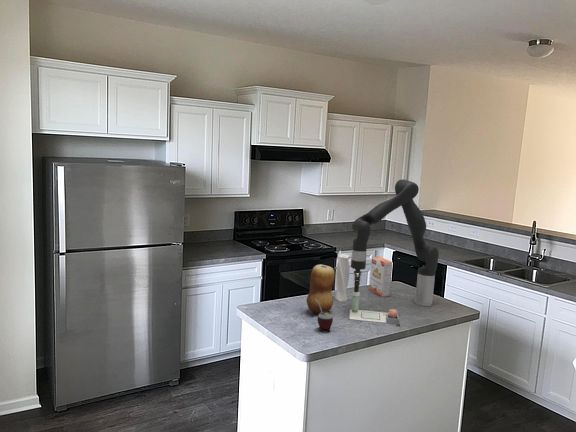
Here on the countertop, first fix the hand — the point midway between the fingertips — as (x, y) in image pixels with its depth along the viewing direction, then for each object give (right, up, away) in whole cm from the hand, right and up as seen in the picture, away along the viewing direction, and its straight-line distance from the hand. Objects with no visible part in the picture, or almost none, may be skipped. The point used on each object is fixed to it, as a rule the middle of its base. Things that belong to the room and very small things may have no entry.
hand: (356, 289), depth 244 cm
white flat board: (+8, -14, -4) cm, 16 cm away
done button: (+16, -11, -10) cm, 23 cm away
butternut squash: (-19, -12, -1) cm, 23 cm away
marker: (0, -12, +2) cm, 12 cm away
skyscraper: (-6, -10, +20) cm, 23 cm away
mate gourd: (-19, -16, -23) cm, 33 cm away
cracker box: (+19, -8, +38) cm, 43 cm away
